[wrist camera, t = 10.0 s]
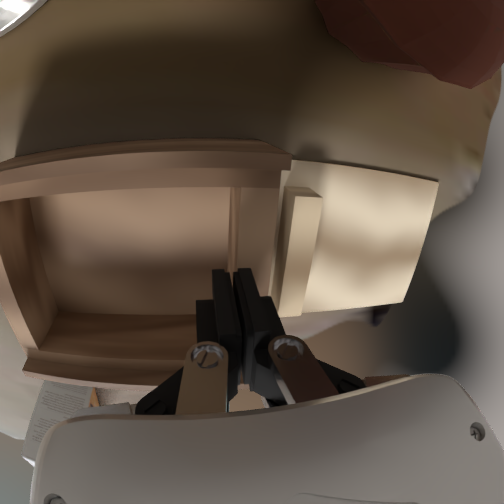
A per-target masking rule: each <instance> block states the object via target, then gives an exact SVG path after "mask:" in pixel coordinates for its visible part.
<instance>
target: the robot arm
mask: <svg viewBox="0 0 504 504" xmlns="http://www.w3.org/2000/svg"><path fill="white" fill-rule="evenodd" d="M46 1H47V0H0V37H1V36H3V35H4V34H6V33H7V32H9V31H11V30H12V29H14V28H15V27H17V26H18V25H19V24H20V23H22V22H23V21H24V20H26V19H27V18H28V17H30V16H31V15H32V14H33V13H34V12H35V11H36V10H37V9H39V8H40V7H41V6H42V5H43V4H44V3H45V2H46ZM212 295H213V299H208V300H196V331H197V344H195V345H193V346H192V347H191V348H190V349H189V350H188V352H187V354H186V358H185V364H184V366H183V367H182V368H181V369H179V370H178V371H177V372H176V373H174V374H173V375H172V376H170V377H169V378H168V379H167V380H165V381H164V382H163V383H161V384H160V385H159V386H157V387H156V388H155V389H154V390H152V391H151V392H150V393H148V394H147V395H146V396H144V397H143V398H142V399H141V400H140V401H139V402H138V403H137V404H131V405H130V404H129V402H127V403H120V404H113V405H105V406H97V407H88V408H82V409H78V410H76V411H75V412H74V413H73V414H72V416H71V417H70V419H67V420H64V421H61V422H59V423H57V424H55V425H53V426H52V427H51V428H50V429H49V430H48V431H47V432H46V434H45V435H44V437H43V439H42V441H41V444H40V447H39V450H38V453H37V457H36V461H35V466H34V472H33V478H32V483H31V494H30V504H504V450H503V448H502V446H501V444H500V442H499V441H498V439H497V437H496V435H495V434H494V432H493V430H492V428H491V427H490V425H489V423H488V422H487V420H486V418H485V417H484V415H483V414H482V412H481V411H480V409H479V408H478V406H477V405H476V403H475V402H474V401H473V399H472V398H471V397H470V395H469V394H468V393H467V392H466V391H465V389H464V388H463V387H462V386H461V385H460V384H459V383H458V382H457V381H456V380H455V379H453V378H451V377H449V376H446V375H440V374H421V375H420V374H419V375H413V376H410V375H406V374H403V375H390V376H376V377H365V378H364V380H361V379H360V378H358V377H356V376H354V375H352V374H350V373H347V372H345V371H343V370H340V369H338V368H336V367H333V366H331V365H329V364H327V363H324V362H322V361H320V360H317V359H316V358H315V357H314V355H313V354H312V352H311V351H310V349H309V348H308V346H307V345H306V344H305V342H304V341H303V340H301V339H300V338H298V337H295V336H292V335H286V334H285V331H284V328H283V326H282V323H281V321H280V318H279V315H278V313H277V310H276V307H275V305H274V302H273V300H272V297H271V296H260V295H259V291H258V288H257V285H256V282H255V279H254V276H253V273H252V270H251V268H238V270H237V272H233V287H232V282H231V277H230V272H225V270H224V269H212ZM241 372H242V377H243V382H244V385H246V384H249V387H250V391H254V392H256V393H258V394H260V395H261V396H262V402H263V404H264V406H265V408H263V409H255V410H247V411H237V412H229V401H230V400H231V399H232V398H233V397H234V396H235V395H236V394H237V393H238V385H240V381H241Z"/></svg>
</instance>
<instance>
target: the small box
mask: <svg viewBox="0 0 504 504" xmlns="http://www.w3.org/2000/svg"><path fill="white" fill-rule="evenodd" d="M97 406H99V403H98V399H97V395H96V391H95V387H87V386H79V385H72V384H66V383H59V382H53V381H48V380H44V383H43V385H42V388H41V391H40V393H39V396H38V399H37V402H36V405H35V408H34V411H33V414H32V417H31V420H30V423H29V427H28V430H27V434H26V437H25V441H24V445H23V449H22V453H21V455H22V457H23V458H24V459H25V460H27V461H28V462H29V463H30V464H31V465H33V467H34V466H35V461H36V457H37V453H38V450H39V447H40V444H41V441H42V439H43V437H44V435H45V434H46V432H47V431H48V430H49V429H50V428H51V427H52V426H53V425H55V424H57V423H59V422H61V421H64V420H67V419H70V417H71V416H72V414H73V413H74V412H75V411H76V410H78V409H82V408H88V407H97Z"/></svg>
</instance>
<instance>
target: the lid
mask: <svg viewBox="0 0 504 504" xmlns="http://www.w3.org/2000/svg"><path fill="white" fill-rule="evenodd" d="M438 186H439V183H438V182H435V181H431V180H426V179H422V178H417V177H412V176H407V175H401V174H396V173H391V172H385V171H379V170H373V169H367V168H360V167H353V166H346V165H338V164H330V163H322V162H312V161H302V160H292V163H291V171H287V170H282V171H281V182H280V192H279V202H278V211H277V221H276V230H275V239H274V248H273V257H272V266H271V275H270V283H269V292H268V296H271V297H272V300H273V302H274V305H275V307H276V310H277V313H278V315H279V317H289V316H301V313H305V312H317V311H329V310H339V309H349V308H358V307H367V306H376V305H384V304H392V303H399V302H403V299H404V297H405V294H406V292H407V289H408V286H409V284H410V281H411V279H412V276H413V273H414V270H415V267H416V264H417V261H418V258H419V255H420V252H421V249H422V246H423V243H424V239H425V236H426V233H427V229H428V226H429V222H430V219H431V215H432V211H433V207H434V203H435V199H436V194H437V190H438Z"/></svg>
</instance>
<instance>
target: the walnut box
mask: <svg viewBox="0 0 504 504" xmlns="http://www.w3.org/2000/svg"><path fill="white" fill-rule="evenodd" d="M291 163H292V154H290V153H287V152H285V151H283V150H281V149H279V148H277V147H274V146H272V145H270V144H268V143H265V142H263V141H261V140H251V139H226V138H174V139H149V140H133V141H120V142H109V143H99V144H91V145H83V146H75V147H68V148H62V149H55V150H50V151H44V152H39V153H33V154H28V155H24V156H19V157H14V158H12V159H9V160H6V161H4V162H1V163H0V303H1V305H2V308H3V310H4V312H5V314H6V317H7V319H8V321H9V323H10V325H11V327H12V329H13V331H14V333H15V335H16V337H17V339H18V341H19V343H20V345H21V347H22V349H23V350H24V352H25V354H26V356H27V361H26V363H25V365H24V367H23V369H22V371H23V372H24V374H25V376H28V377H33V378H37V379H43V380H48V381H53V382H59V383H66V384H72V385H79V386H87V387H96V388H106V389H117V390H131V391H152V390H154V389H155V388H156V387H157V386H159V385H160V384H161V383H163V382H164V381H165V380H167V379H168V378H169V377H170V376H172V375H173V374H174V373H176V372H177V371H178V370H179V369H181V368H182V367H183V366H184V364H185V358H186V354H187V352H188V350H189V349H190V348H191V347H192V346H193V345H195V344H197V331H196V300H208V299H213V295H212V269H224V270H225V272H230V277H231V282H232V287H233V272H237V270H238V268H251V270H252V273H253V276H254V279H255V282H256V285H257V288H258V291H259V295H260V296H268V292H269V283H270V275H271V266H272V257H273V248H274V239H275V230H276V221H277V211H278V202H279V192H280V182H281V171H282V170H287V171H291ZM240 389H250V387H249V384H246V385H244V382H243V377H242V372H241V381H240V385H238V390H240Z"/></svg>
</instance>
